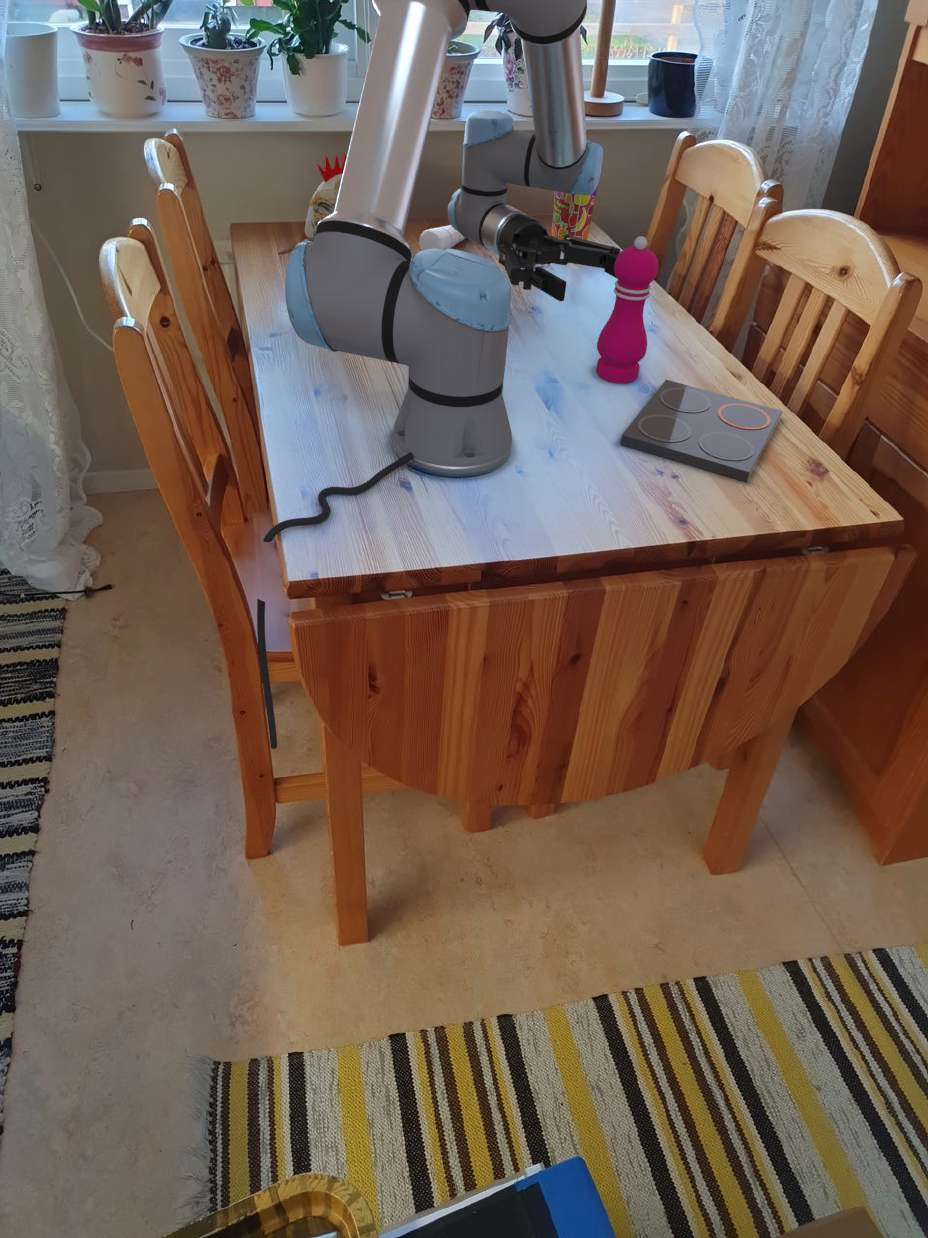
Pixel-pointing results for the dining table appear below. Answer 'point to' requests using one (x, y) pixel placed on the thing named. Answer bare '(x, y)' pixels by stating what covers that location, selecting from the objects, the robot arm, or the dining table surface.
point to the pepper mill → (627, 315)
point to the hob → (703, 430)
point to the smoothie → (572, 214)
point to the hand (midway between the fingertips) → (600, 284)
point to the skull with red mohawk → (329, 182)
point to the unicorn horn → (440, 238)
